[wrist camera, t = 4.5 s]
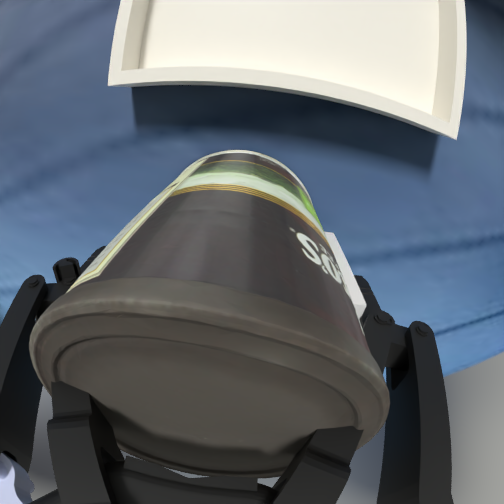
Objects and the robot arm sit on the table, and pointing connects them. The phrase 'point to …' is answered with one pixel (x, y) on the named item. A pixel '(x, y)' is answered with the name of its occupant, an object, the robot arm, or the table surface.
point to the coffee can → (217, 326)
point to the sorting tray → (304, 51)
